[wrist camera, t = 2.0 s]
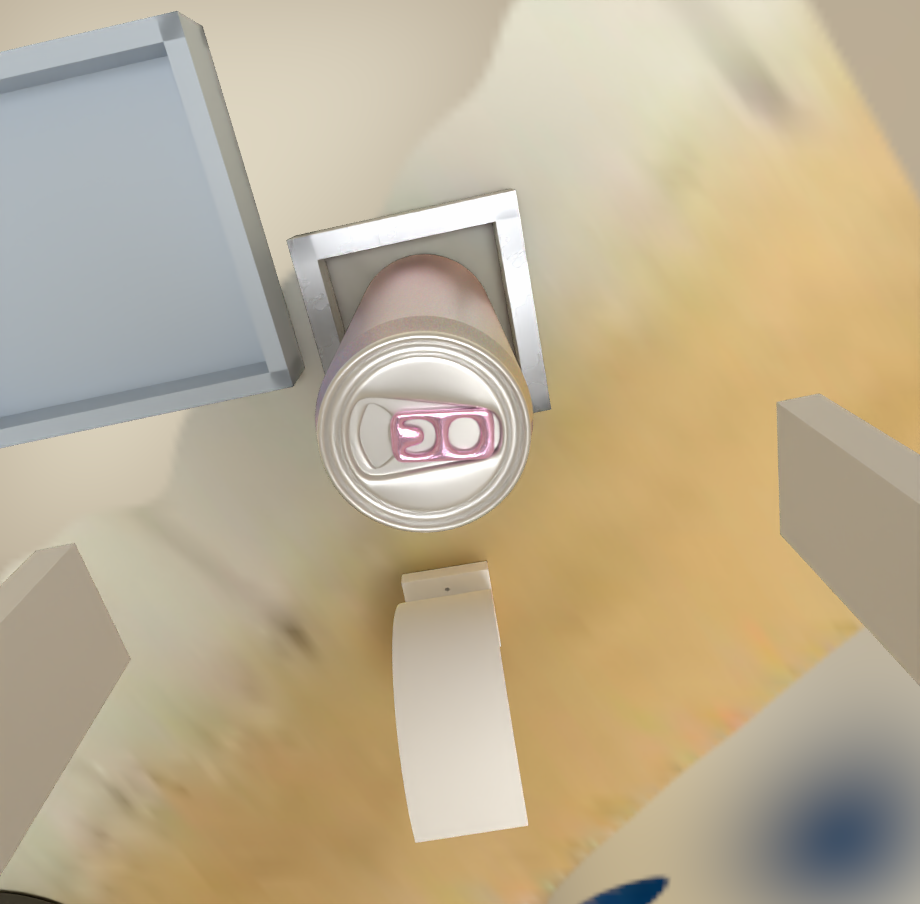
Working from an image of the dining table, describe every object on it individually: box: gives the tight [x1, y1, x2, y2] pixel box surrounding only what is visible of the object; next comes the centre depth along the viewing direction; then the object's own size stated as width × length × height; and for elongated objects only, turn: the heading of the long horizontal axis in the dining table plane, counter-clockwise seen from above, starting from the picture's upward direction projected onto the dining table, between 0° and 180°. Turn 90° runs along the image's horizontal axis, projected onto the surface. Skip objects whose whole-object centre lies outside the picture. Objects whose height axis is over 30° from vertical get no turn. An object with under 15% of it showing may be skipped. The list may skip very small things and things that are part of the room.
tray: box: [0, 11, 305, 448], centre depth 29 cm, size 16×14×3 cm
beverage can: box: [315, 254, 533, 532], centre depth 25 cm, size 6×6×15 cm
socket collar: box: [287, 189, 551, 413], centre depth 31 cm, size 10×10×2 cm
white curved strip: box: [392, 561, 528, 843], centre depth 32 cm, size 5×6×12 cm
